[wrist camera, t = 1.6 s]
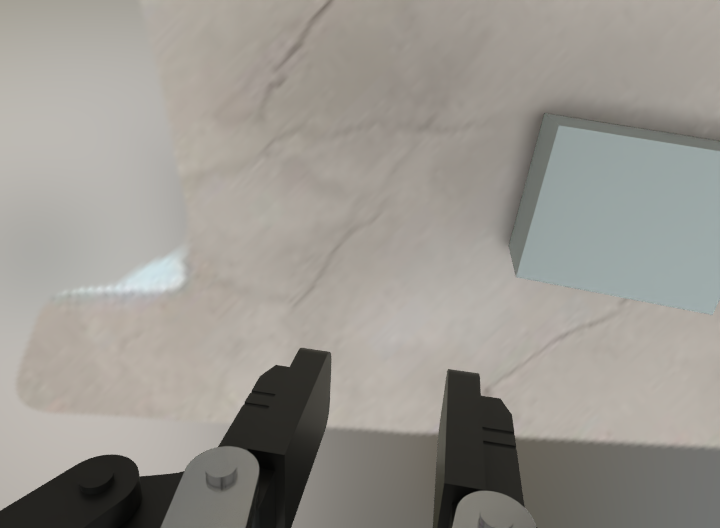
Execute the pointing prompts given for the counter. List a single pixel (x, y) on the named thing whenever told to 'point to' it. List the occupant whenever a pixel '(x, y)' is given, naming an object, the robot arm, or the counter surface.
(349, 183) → the counter surface
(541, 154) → the grey block
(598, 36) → the counter surface
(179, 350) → the counter surface
